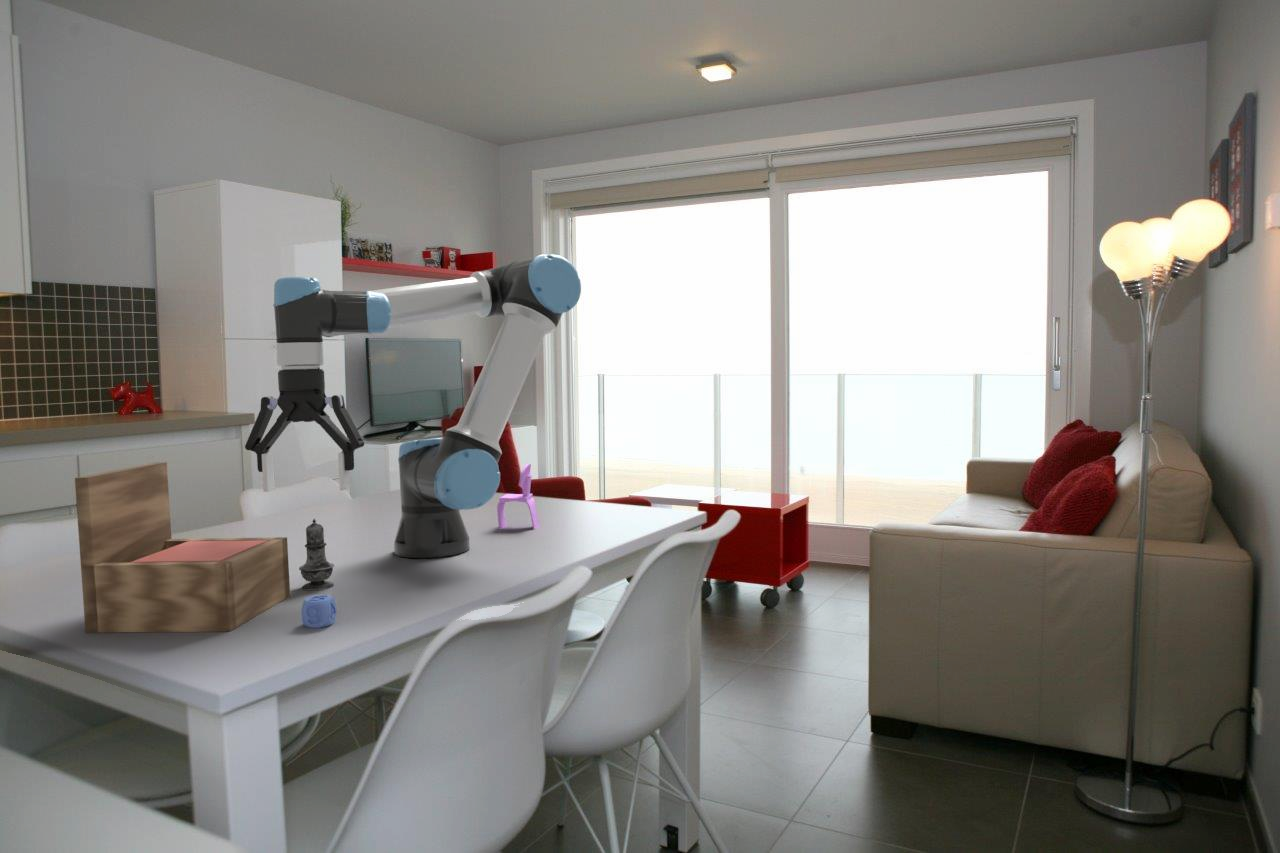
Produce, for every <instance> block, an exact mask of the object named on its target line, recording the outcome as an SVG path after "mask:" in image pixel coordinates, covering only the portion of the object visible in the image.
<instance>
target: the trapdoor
mask: <svg viewBox="0 0 1280 853" xmlns="http://www.w3.org/2000/svg"><path fill="white" fill-rule="evenodd" d="M267 541H268V540H247V541H188V542H185V543H182V544H179V545H176V546H174V547H171V548H168V549H165V550H163V551H160V552H157V553H154V554H151V555H149V556H146V557H143V558H140V559H138V560H135V561H132V562H131V563H133V562H216V561H223V560H225V559H227V558H230V557H232V556H234V555H237V554H239V553H241V552H244V551H246V550H248V549H251V548H253V547H255V546H258V545H260V544H263V543H265V542H267Z"/></svg>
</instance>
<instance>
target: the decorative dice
mask: <svg viewBox="0 0 1280 853" xmlns="http://www.w3.org/2000/svg"><path fill="white" fill-rule="evenodd" d="M302 602H303V603H302V606H301V621H302V623H303V625H304V626H305V627H306V628H309V629H319V628H320V629H321V627H322V628H326V626H327V627H331V625H333V624H335V621H336V619H337V618H336V617H337V602H336V599H335V598H334V597H333V596H332V595H329V594H317V595H312V596H309V597H306V598H305V599H304V600H303V601H302Z"/></svg>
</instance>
